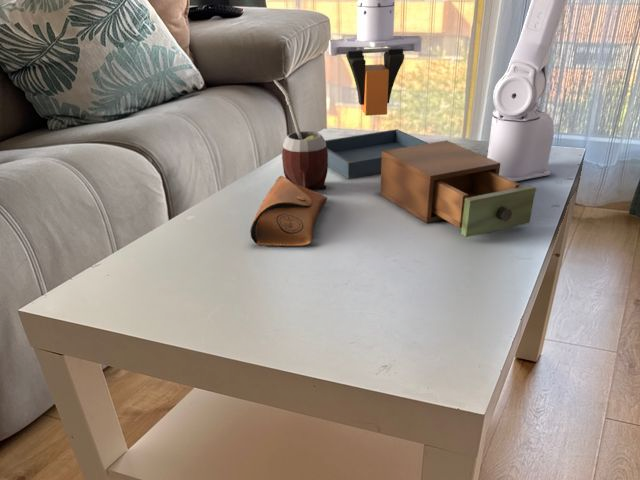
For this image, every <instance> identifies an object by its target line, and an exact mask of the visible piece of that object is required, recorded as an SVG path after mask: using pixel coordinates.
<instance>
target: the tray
mask: <svg viewBox="0 0 640 480" xmlns="http://www.w3.org/2000/svg"><path fill="white" fill-rule="evenodd" d="M324 140H325V142H326V146H327V151H328V168H331V169H332V170H333V171H335V172H337V173H338V174H340V175H341V176H343V177H345V178H347V179H348V180H349V179H354V178H360V177H365V176H372V175H377V174H381V161H382V151H386V150H392V149H398V148H404V147H410V146H416V145H422V144H428V143H429V142H427V141H424V140H423V139H420V138H418V137H416V136H413V135H411V134H409V133H407V132H404V131H403V130H400V129H398V128H396V129H389V130H382V131H377V132H370V133H364V134H358V135H351V136H350V135H349V136H344V137H338V138H332V139H324Z"/></svg>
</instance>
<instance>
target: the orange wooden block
mask: <svg viewBox="0 0 640 480" xmlns="http://www.w3.org/2000/svg"><path fill="white" fill-rule="evenodd" d="M388 78H389V70H388V69H387V68H386V67H385V66H384V63H381V64H365V76H364V90H365V96H364V105H360V109H361V111H362V112H363V114H364V116H386V115H388V103H387V102H388Z"/></svg>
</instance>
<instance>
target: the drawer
mask: <svg viewBox="0 0 640 480" xmlns="http://www.w3.org/2000/svg"><path fill="white" fill-rule="evenodd" d="M536 190H537V188H536V186H533V185H530V184H529V185H525V186H521V184H520V183H518V182H517V181H516V182H514V181H511V180H509V179H507V178H505V177H502V176H500V175H498V174H496V173H494V172H491V171H489V170H487V171H482V172H476V173H471V174H466V175H460V176H455V177H450V178H444V179H439V180H434V188H433V200H432V212H433V213H434V214H436V215H438V216H439V217H441V218H443V219H444V220H445V221H446V222H448V223H449V224H451V225H453V226H455V227H456V228H458V229H461V231H460V235H462V236H463V237H465V238H469V237H473V236H477V235H482V234H487V233H492V232H495V231H500V230H504V229H505V230H506V229H509V228H514V227H517V226H522V225H523V226H524V225H528V224H530V223H531V217H532V211H533V208H534V207H533V206H534V201H535V196H536Z"/></svg>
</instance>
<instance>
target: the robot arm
mask: <svg viewBox="0 0 640 480" xmlns="http://www.w3.org/2000/svg"><path fill="white" fill-rule="evenodd" d="M395 1H396V0H356V5H357V6H356V37H348V38H347V37H346V38H338V39H329V40H328V54H329V56H333V57H334V56H335V57H336V56H338V55H345V57H346V60H347V62H348V64H349V67H350V69H351V73H352V76H353V79H354V82H355V87H356V92H357V98H358V103H359V105H360V106H361V105H364V96H365V90H364V76H365V65H366V59H365V55H364V54H378V53H383V65H384V66H385V67H386V68H387V69H388V70H389V78H388V102H387V104H390V101H391V100H390V99H391V95H392V91H393V87H394V84H395V81H396V79H397V78H396V77H397V76H398V74H399V71H400V69H401V67H402V65H403V64H404V60H405V54H404V52H421V51H422V37H421V36H420V35H394V27H395V5H396V4H395V3H396V2H395ZM567 3H568V0H530V4H529V7H528V10H527V13H526V16H525V20H524V23H523V26H522V29H521V32H520V35H519V39H518V42H517V44H516V46H515V49H514V51H513V53H512V55H511V57H510V60H509V63H508V66H507V69H506V71H505V73H504V74H503V76H501V78H500V79H499V80H498V81H497V82H496V84H495V87H494V90H493V95H492V97H493V98H492V101H493V105H494V107H495V109H493V110H492V117H491V123H490V133H489V139H488V147H487V155H486V157H487V158H489V159H492V160H494V161H497V162H499V163H500V171H499V175H500V176H502V177H505V178H507V179H509V180H511V181H514V182H516V183H517V182H521V181H525V180H531V179H536V178H541V177H546V176H549V175H551V171H550V170H548V166H549V161H550V158H551V157H550V156H551V152H552V146H553V140H554V135H555V125H554V121H553V118H552V117H551V116H550V114H548V113H547V112H545V111H542V110H541V108H540V105H539V103H538V102H537V101H539V100H540V99H541V98H542V97H543V95H544V93H545V91H546V88H547V85H548V83H547V82H548V79H547V66H548V63H549V60H550V57H551V52H552V46H553V43H554V40H555V38H556V35H557V32H558V29H559V26H560V23H561V20H562V18H563V14H564V12H565V9H566V6H567Z"/></svg>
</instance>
